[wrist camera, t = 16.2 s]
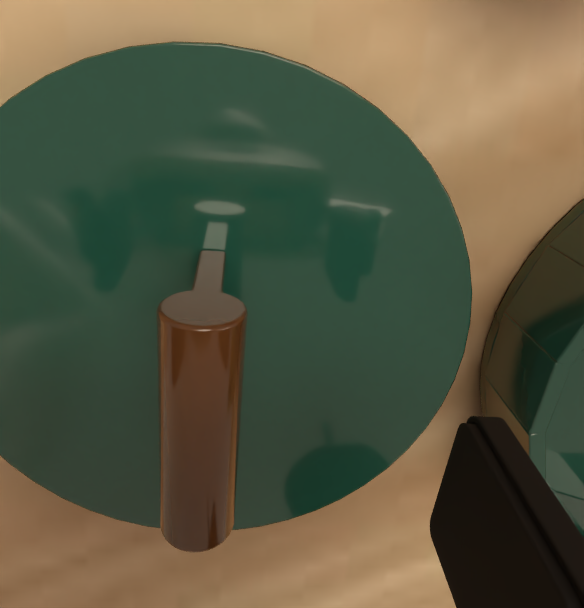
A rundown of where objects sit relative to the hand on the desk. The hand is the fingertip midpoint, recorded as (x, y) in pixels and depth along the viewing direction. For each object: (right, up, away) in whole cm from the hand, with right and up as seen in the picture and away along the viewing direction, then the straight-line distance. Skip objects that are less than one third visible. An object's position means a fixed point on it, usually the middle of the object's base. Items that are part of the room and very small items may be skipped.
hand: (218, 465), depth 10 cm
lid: (-1, +2, +5) cm, 6 cm away
